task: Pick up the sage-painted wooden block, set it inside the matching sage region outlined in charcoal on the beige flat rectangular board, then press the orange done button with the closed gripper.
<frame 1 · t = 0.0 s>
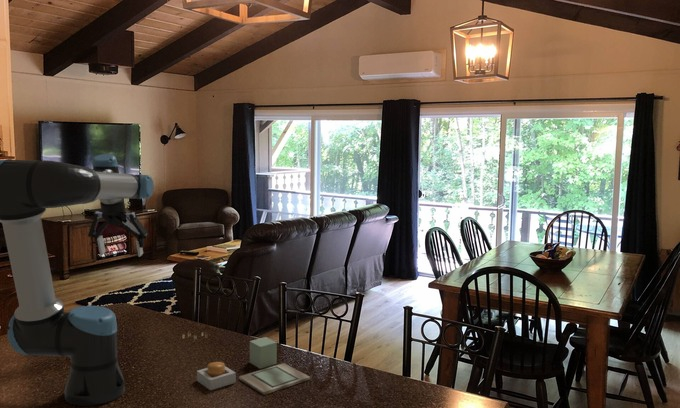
hand: (121, 254, 202), 28 cm above the counter, tool tilted 20°, fingers open, 13 cm apart
button housing: (216, 381, 165), on the counter
done button: (216, 370, 164), point 3 cm above the counter, slide at 0.0 cm
sage block: (263, 363, 179), on the counter
beige flat rectangular board: (274, 379, 167), on the counter
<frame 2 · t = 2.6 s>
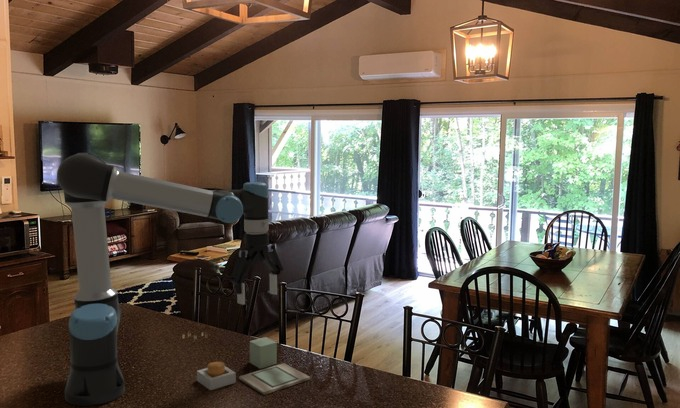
hand: (257, 298, 181), 19 cm above the counter, tool pointing down, fingers open, 13 cm apart
nothing on the counter moved.
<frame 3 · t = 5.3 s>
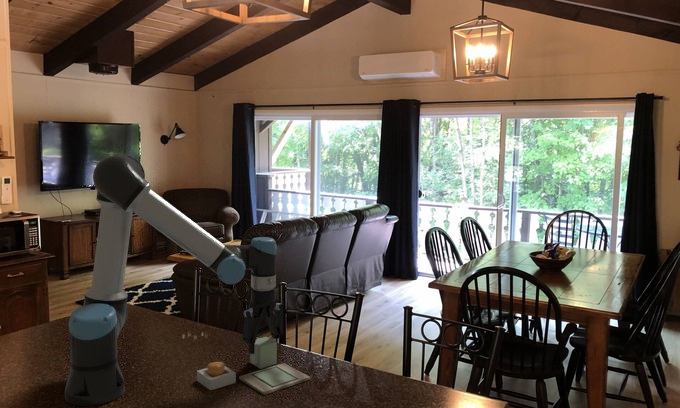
hand: (263, 360, 179), 1 cm above the counter, tool pointing down, fingers closed on sage block, 6 cm apart
sage block: (263, 363, 179), on the counter, touching gripper
everything else where it was.
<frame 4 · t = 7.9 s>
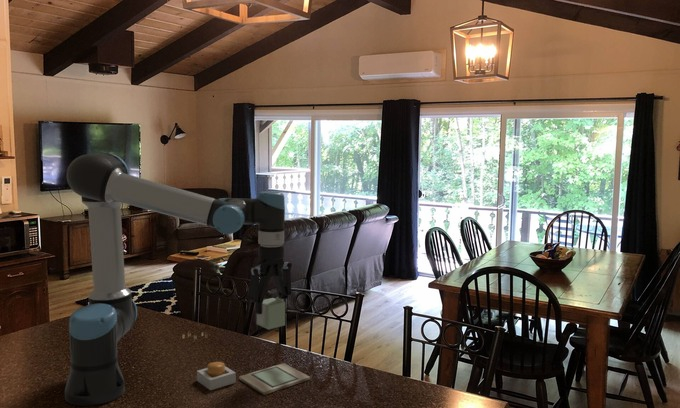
hand: (270, 321, 170), 16 cm above the counter, tool pointing down, fingers closed on sage block, 6 cm apart
sage block: (270, 324, 170), point 15 cm above the counter, touching gripper
everything else where it was.
when the fingers open (3 cm above the counter, at t = 10.4 s): sage block drops 1 cm, resting on beige flat rectangular board.
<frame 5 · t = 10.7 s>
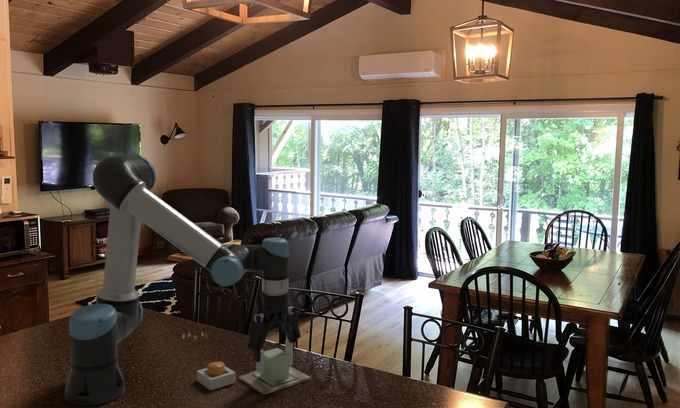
hand: (274, 367, 167), 4 cm above the counter, tool pointing down, fingers open, 9 cm apart
sage block: (274, 376, 167), point 1 cm above the counter, touching beige flat rectangular board
everything else where it was.
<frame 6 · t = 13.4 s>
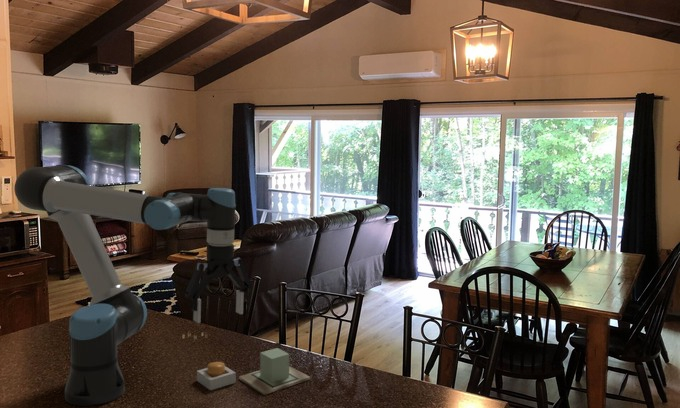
hand: (218, 317, 163), 19 cm above the counter, tool pointing down, fingers open, 13 cm apart
nothing on the counter moved.
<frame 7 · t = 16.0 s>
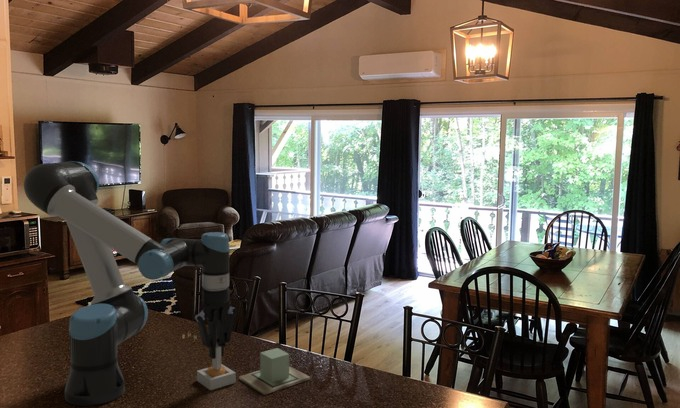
hand: (216, 367, 164), 4 cm above the counter, tool pointing down, fingers closed
done button: (216, 373, 164), point 2 cm above the counter, slide at 1.1 cm, touching gripper
everything else where it was.
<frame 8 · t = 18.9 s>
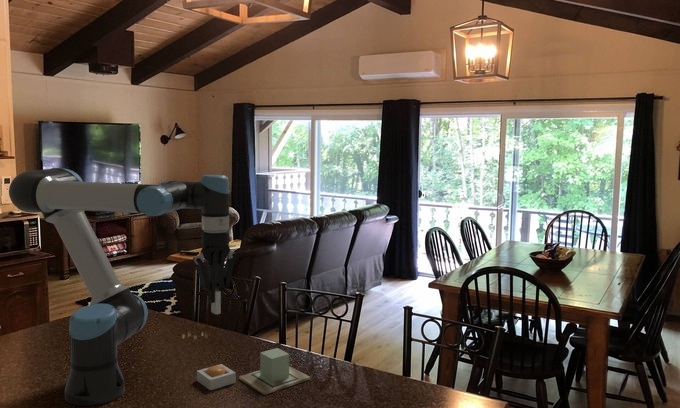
hand: (215, 312, 162), 20 cm above the counter, tool pointing down, fingers closed
done button: (216, 374, 164), point 2 cm above the counter, slide at 1.2 cm
everything else where it was.
at the end: sage block 0.0 cm off-centre on the beige flat rectangular board, point 0.9 cm above the beige flat rectangular board's base; sage block tilted 0°; done button slide at 1.2 cm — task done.
